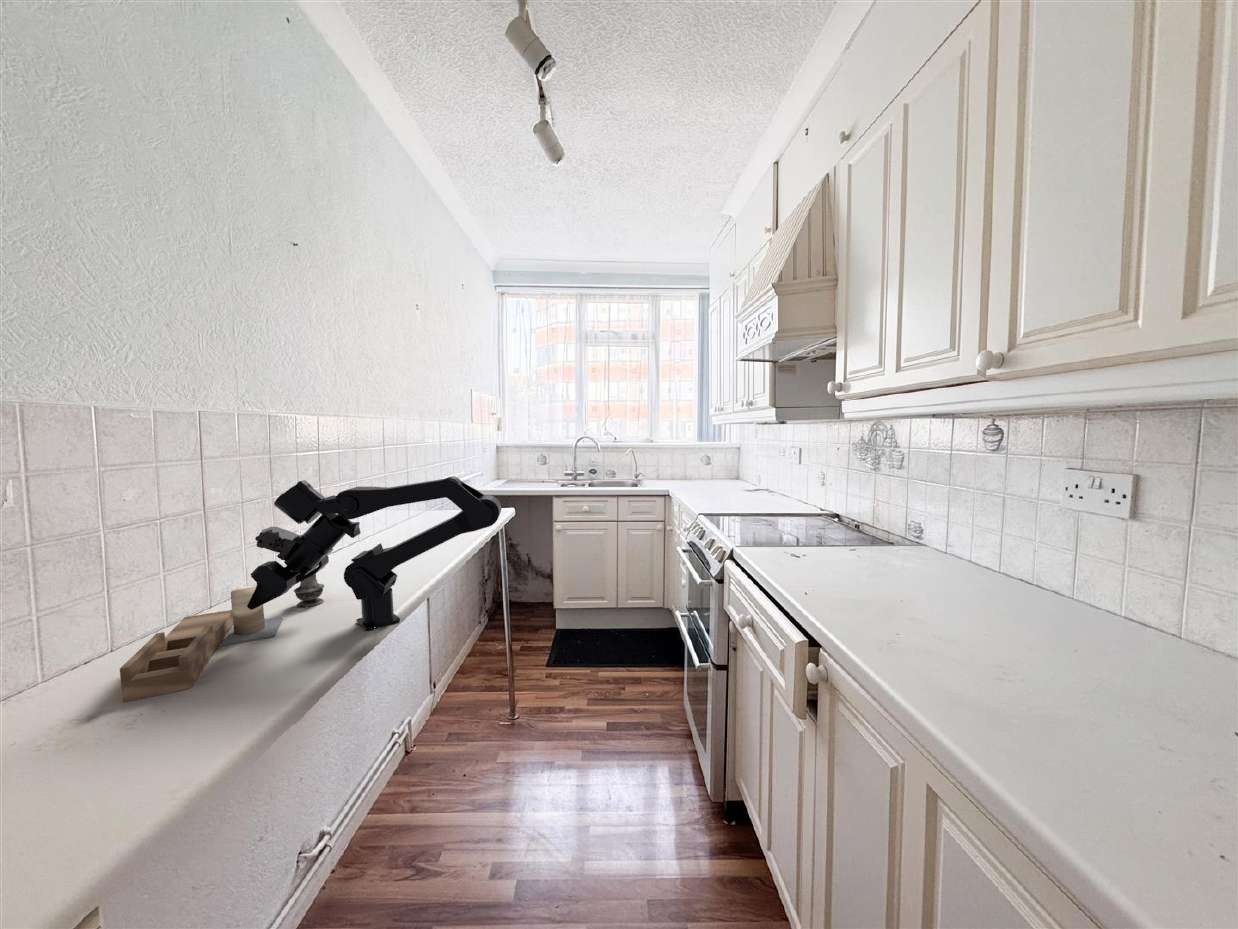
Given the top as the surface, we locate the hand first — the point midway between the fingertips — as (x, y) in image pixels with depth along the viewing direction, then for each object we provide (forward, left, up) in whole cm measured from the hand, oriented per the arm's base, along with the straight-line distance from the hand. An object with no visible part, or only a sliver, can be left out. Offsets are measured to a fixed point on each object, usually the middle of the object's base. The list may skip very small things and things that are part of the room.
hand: (263, 599), depth 95 cm
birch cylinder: (+2, +2, -6) cm, 6 cm away
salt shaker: (+11, -10, -6) cm, 16 cm away
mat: (+1, +2, -6) cm, 7 cm away
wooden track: (-3, +12, -6) cm, 14 cm away
